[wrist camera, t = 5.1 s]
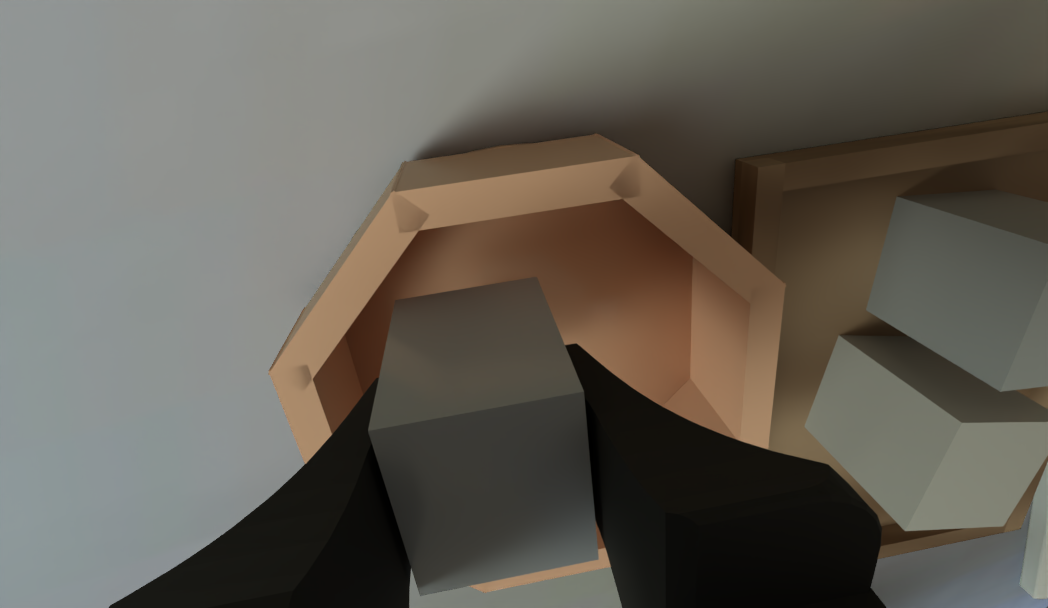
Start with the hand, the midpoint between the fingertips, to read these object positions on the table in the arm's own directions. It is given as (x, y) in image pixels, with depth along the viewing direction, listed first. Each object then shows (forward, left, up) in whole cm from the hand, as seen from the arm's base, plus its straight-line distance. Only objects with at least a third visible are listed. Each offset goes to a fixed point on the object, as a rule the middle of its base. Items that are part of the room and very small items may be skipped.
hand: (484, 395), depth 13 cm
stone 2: (-1, -15, -4) cm, 16 cm away
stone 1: (0, 0, -2) cm, 2 cm away
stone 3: (-6, -14, -4) cm, 15 cm away
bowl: (-2, -2, -5) cm, 5 cm away
